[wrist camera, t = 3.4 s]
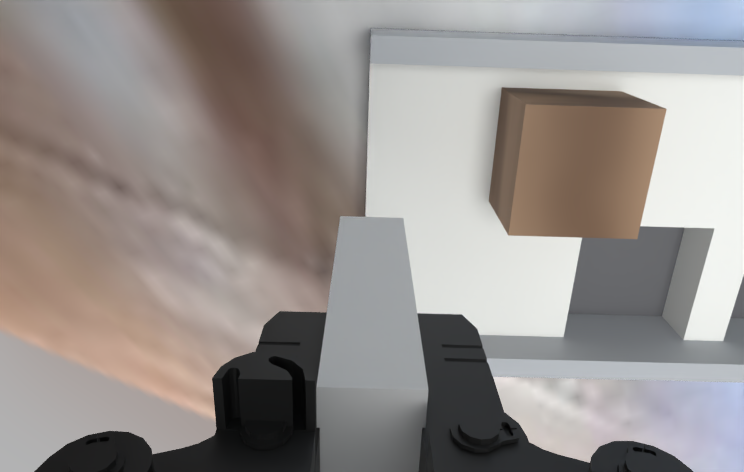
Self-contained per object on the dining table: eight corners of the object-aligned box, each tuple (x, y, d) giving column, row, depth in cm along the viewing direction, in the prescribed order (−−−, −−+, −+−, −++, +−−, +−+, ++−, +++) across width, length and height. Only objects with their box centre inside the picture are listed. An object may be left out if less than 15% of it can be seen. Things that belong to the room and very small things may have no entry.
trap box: (362, 322, 31) (361, 373, 27) (370, 28, 26) (371, 35, 21) (909, 336, 32) (990, 388, 28) (1039, 50, 26) (1166, 62, 22)
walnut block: (488, 201, 26) (508, 235, 22) (501, 87, 24) (525, 104, 20) (599, 204, 26) (637, 239, 22) (621, 91, 24) (666, 108, 21)
